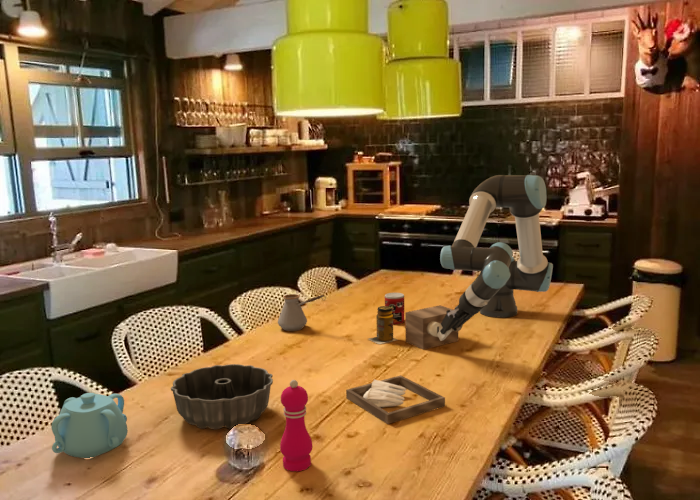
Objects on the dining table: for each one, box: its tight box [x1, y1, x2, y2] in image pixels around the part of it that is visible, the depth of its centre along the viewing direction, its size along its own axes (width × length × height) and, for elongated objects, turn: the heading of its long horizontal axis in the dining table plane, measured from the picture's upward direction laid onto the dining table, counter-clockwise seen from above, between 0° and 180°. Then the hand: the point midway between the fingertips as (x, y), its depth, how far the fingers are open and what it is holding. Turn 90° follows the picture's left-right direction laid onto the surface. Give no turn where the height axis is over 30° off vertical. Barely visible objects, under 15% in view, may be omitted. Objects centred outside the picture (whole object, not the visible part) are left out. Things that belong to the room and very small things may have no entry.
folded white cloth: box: [362, 379, 407, 408], centre depth 173 cm, size 12×4×11 cm
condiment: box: [368, 305, 399, 345], centre depth 226 cm, size 7×8×12 cm
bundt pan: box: [170, 363, 274, 430], centre depth 166 cm, size 26×26×10 cm
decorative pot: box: [51, 392, 129, 459], centre depth 149 cm, size 16×16×14 cm
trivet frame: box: [345, 374, 446, 425], centre depth 173 cm, size 19×20×2 cm
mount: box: [404, 304, 464, 350], centre depth 222 cm, size 16×13×11 cm
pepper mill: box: [279, 379, 314, 472], centre depth 139 cm, size 7×7×20 cm
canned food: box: [384, 292, 405, 325], centre depth 249 cm, size 8×8×11 cm
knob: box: [427, 321, 443, 337], centre depth 220 cm, size 5×15×5 cm, turn 32°
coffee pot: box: [277, 293, 327, 332], centre depth 240 cm, size 21×12×15 cm, turn 58°
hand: (440, 337), depth 213 cm, fingers closed
